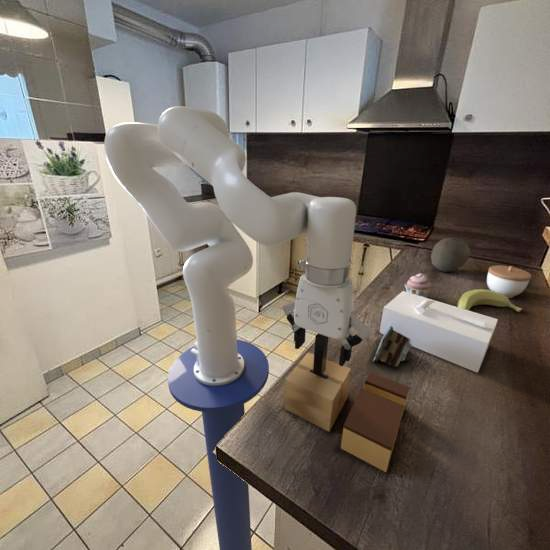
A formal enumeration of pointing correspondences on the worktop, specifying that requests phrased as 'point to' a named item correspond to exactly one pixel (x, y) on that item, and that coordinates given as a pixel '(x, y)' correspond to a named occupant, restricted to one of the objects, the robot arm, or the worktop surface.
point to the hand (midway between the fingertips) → (320, 353)
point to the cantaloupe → (450, 254)
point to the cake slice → (386, 388)
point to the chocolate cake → (392, 348)
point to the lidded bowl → (507, 280)
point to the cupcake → (419, 285)
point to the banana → (484, 299)
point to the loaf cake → (372, 428)
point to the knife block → (317, 392)
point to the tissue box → (440, 328)
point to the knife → (320, 355)
